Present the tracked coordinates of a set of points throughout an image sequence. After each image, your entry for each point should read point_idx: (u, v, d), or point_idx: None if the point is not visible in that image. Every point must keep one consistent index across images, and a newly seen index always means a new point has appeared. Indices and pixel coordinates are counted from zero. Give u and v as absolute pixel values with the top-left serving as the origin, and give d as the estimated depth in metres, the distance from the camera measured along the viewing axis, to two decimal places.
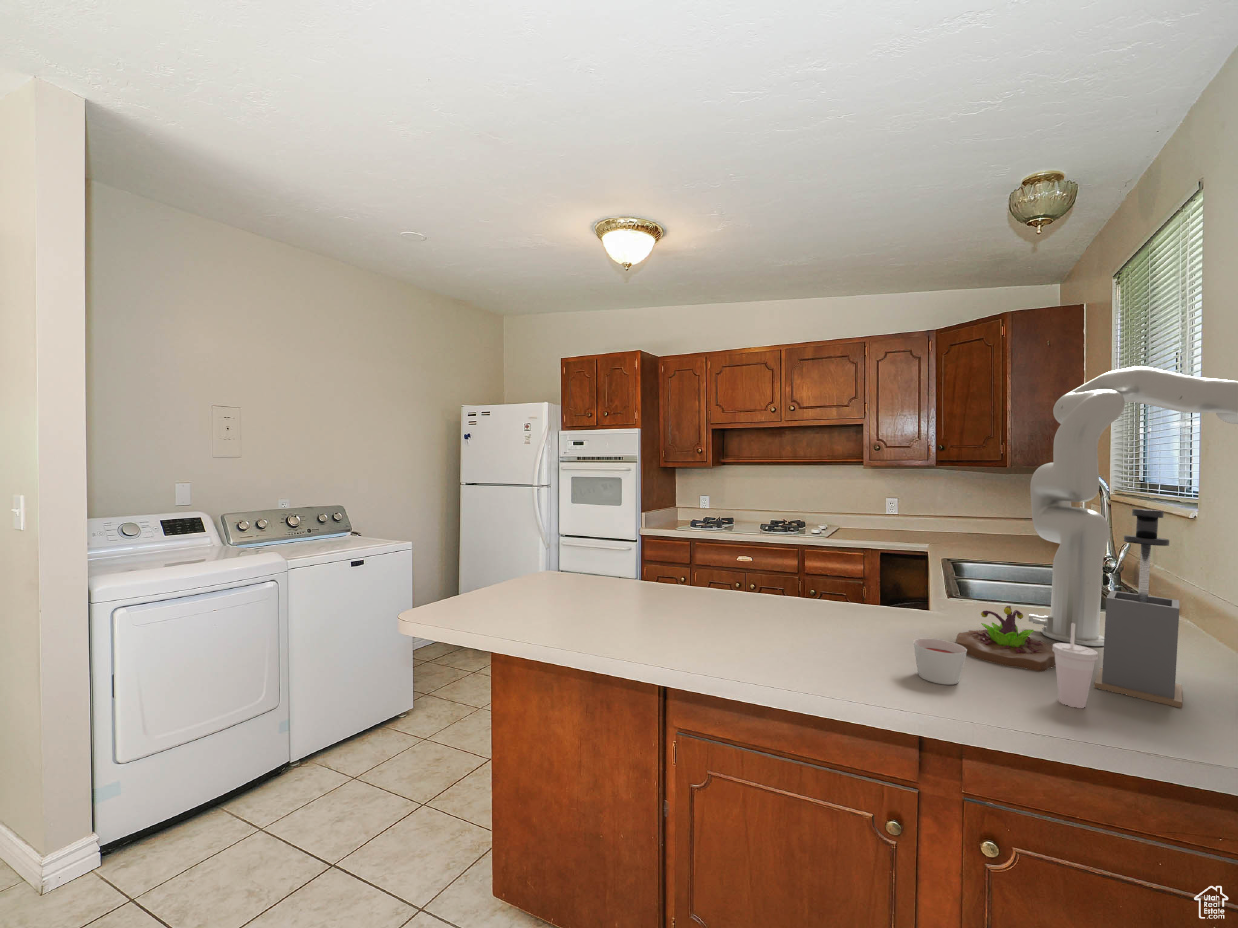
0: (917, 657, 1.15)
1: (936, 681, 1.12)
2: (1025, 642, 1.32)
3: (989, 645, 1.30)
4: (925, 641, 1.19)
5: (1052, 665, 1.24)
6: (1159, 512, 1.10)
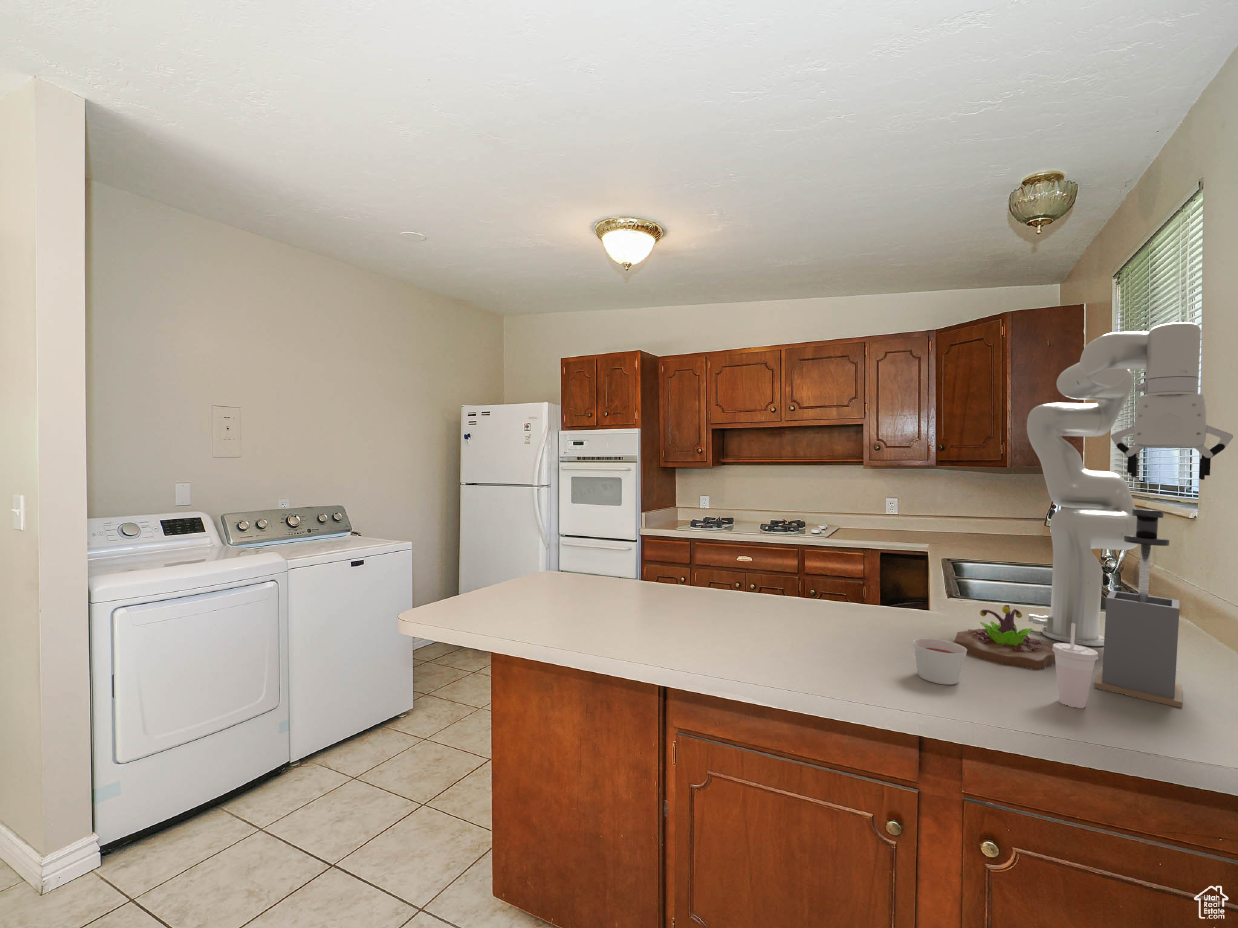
0: (917, 657, 1.15)
1: (936, 681, 1.12)
2: (1024, 641, 1.33)
3: (987, 644, 1.31)
4: (925, 641, 1.19)
5: (1050, 664, 1.24)
6: (1159, 512, 1.10)
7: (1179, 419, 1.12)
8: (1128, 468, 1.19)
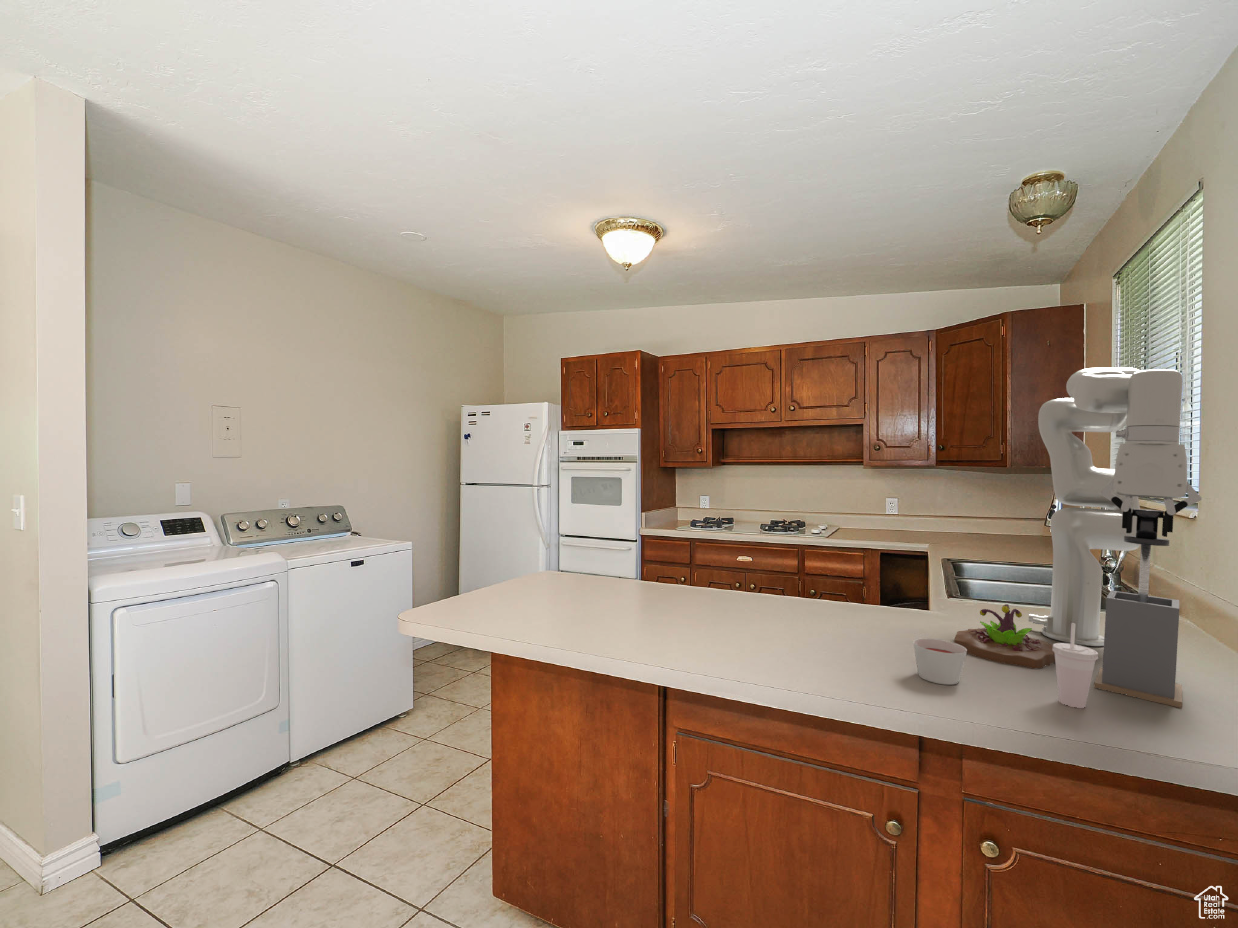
0: (917, 657, 1.15)
1: (936, 681, 1.12)
2: (1023, 640, 1.34)
3: (987, 643, 1.31)
4: (925, 641, 1.19)
5: (1049, 663, 1.25)
6: (1159, 512, 1.10)
7: (1159, 470, 1.09)
8: (1123, 523, 1.14)
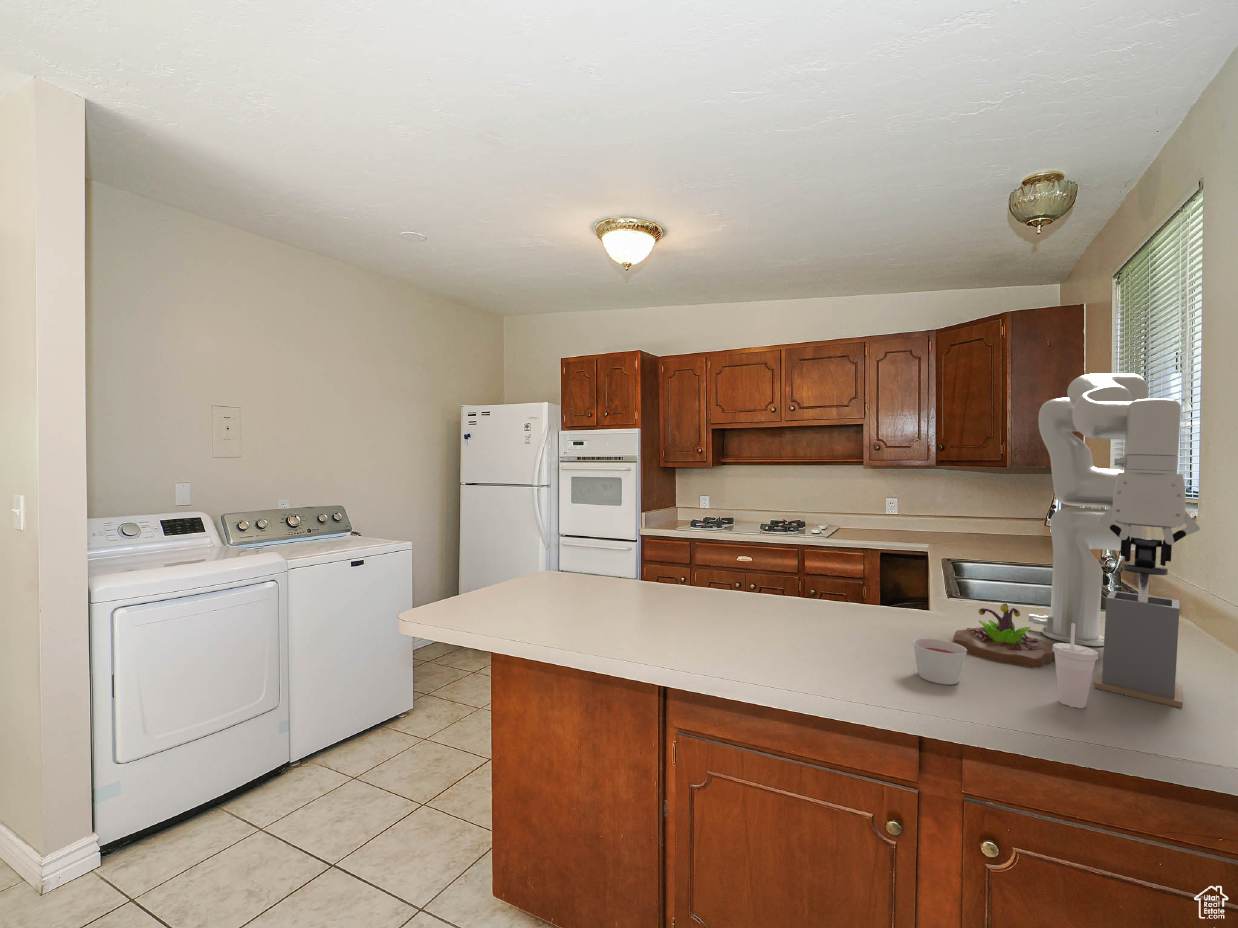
0: (917, 657, 1.15)
1: (936, 681, 1.12)
2: (1022, 639, 1.34)
3: (986, 642, 1.32)
4: (925, 641, 1.19)
5: (1047, 662, 1.26)
6: (1157, 541, 1.11)
7: (1158, 499, 1.10)
8: (1121, 552, 1.14)
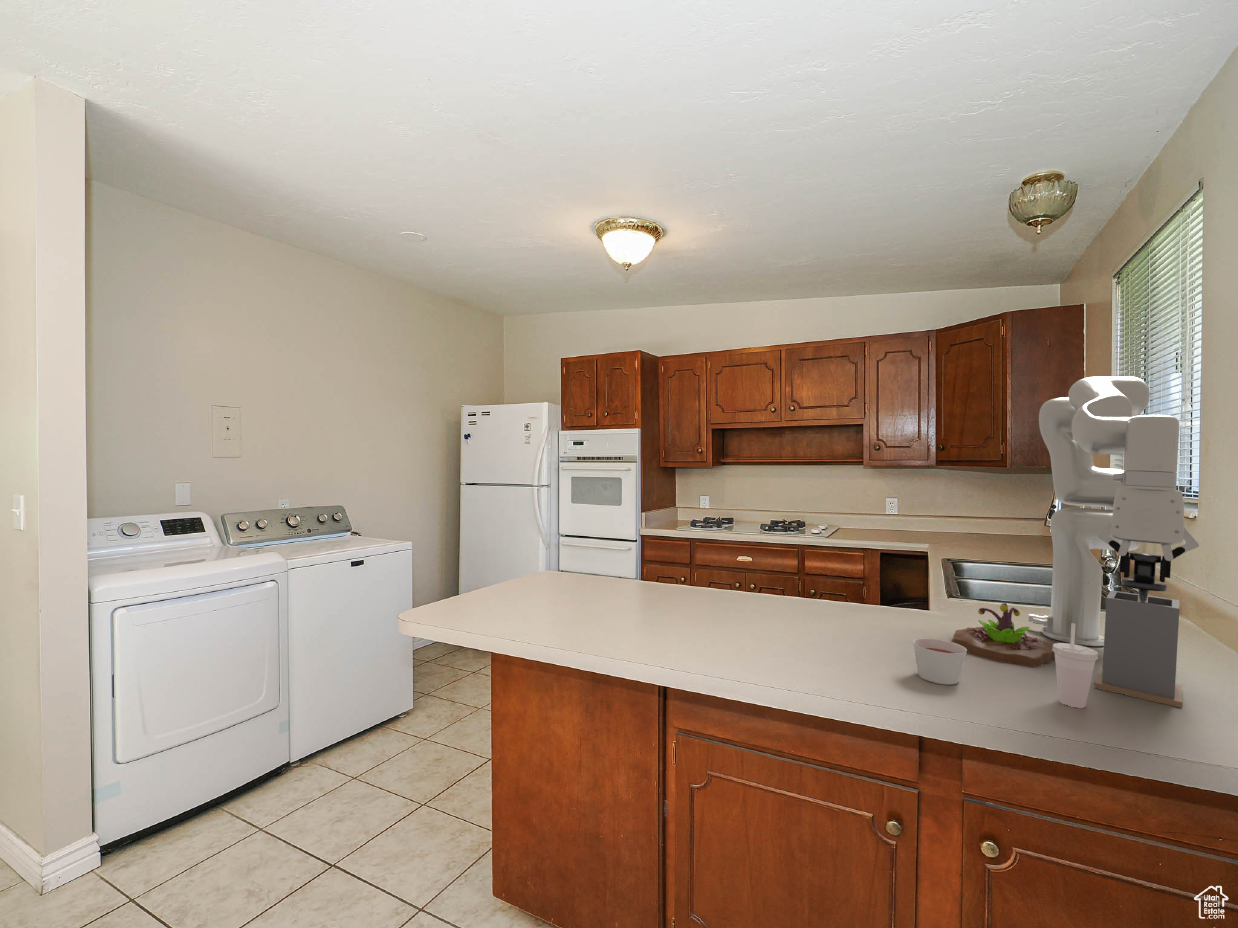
0: (917, 657, 1.15)
1: (936, 681, 1.12)
2: (1021, 639, 1.35)
3: (985, 642, 1.32)
4: (925, 641, 1.19)
5: (1047, 661, 1.26)
6: (1157, 557, 1.11)
7: (1157, 515, 1.10)
8: (1121, 567, 1.14)
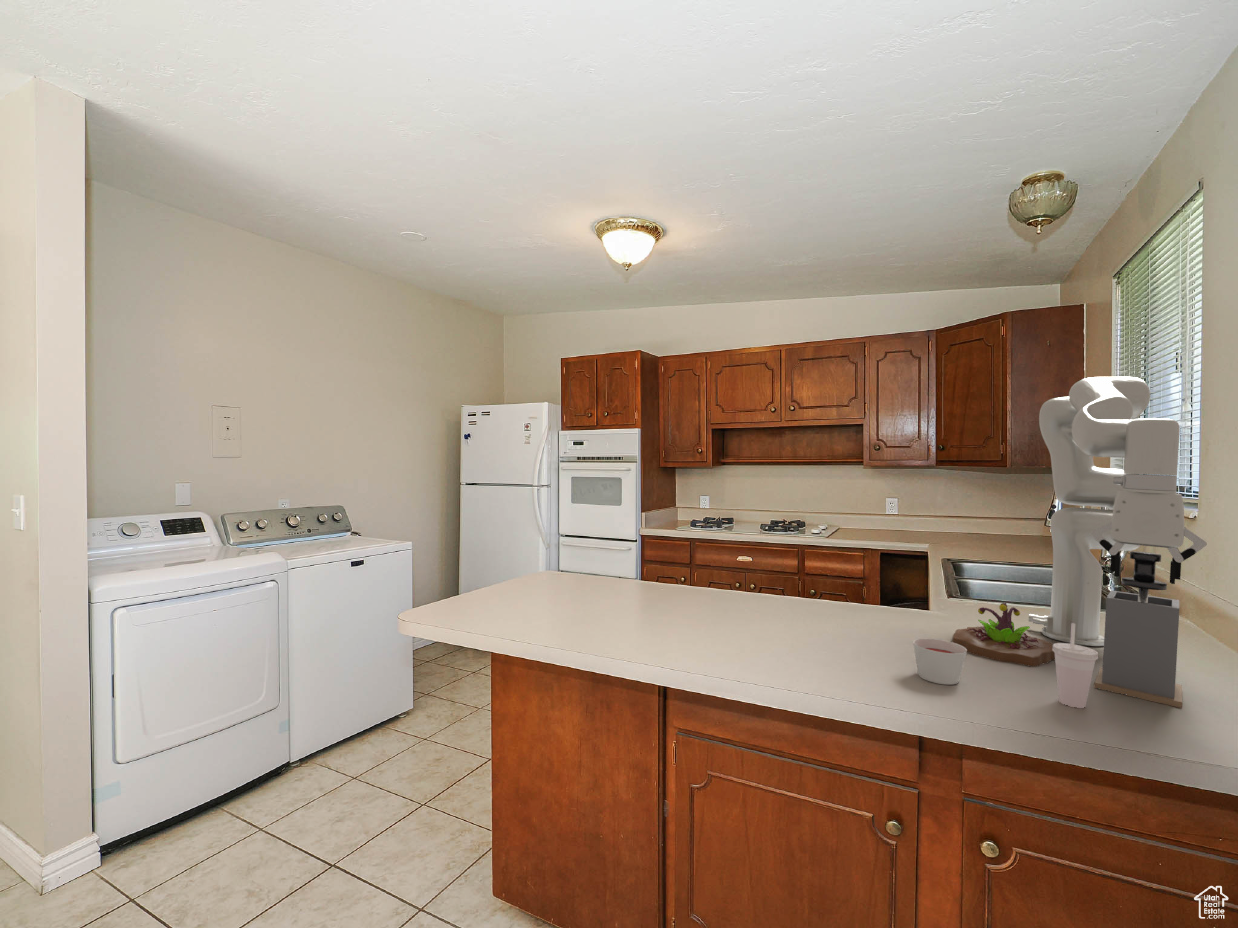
0: (917, 657, 1.15)
1: (936, 681, 1.12)
2: (1021, 638, 1.35)
3: (984, 641, 1.33)
4: (925, 641, 1.19)
5: (1046, 661, 1.26)
6: (1157, 556, 1.11)
7: (1157, 519, 1.10)
8: (1111, 566, 1.15)
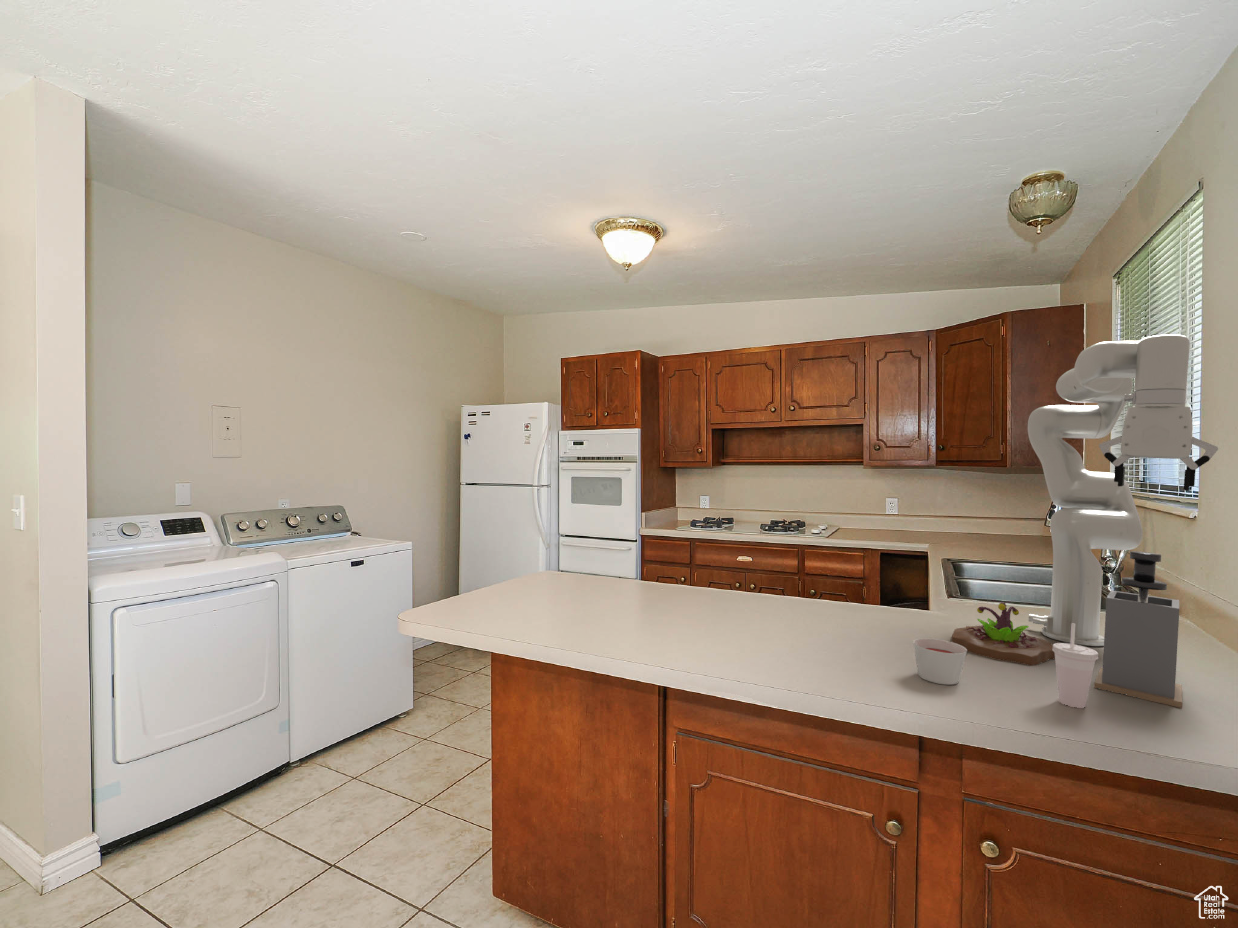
0: (917, 657, 1.15)
1: (936, 681, 1.12)
2: (1020, 638, 1.35)
3: (983, 640, 1.33)
4: (925, 641, 1.19)
5: (1044, 660, 1.27)
6: (1157, 556, 1.11)
7: (1165, 431, 1.14)
8: (1115, 477, 1.21)
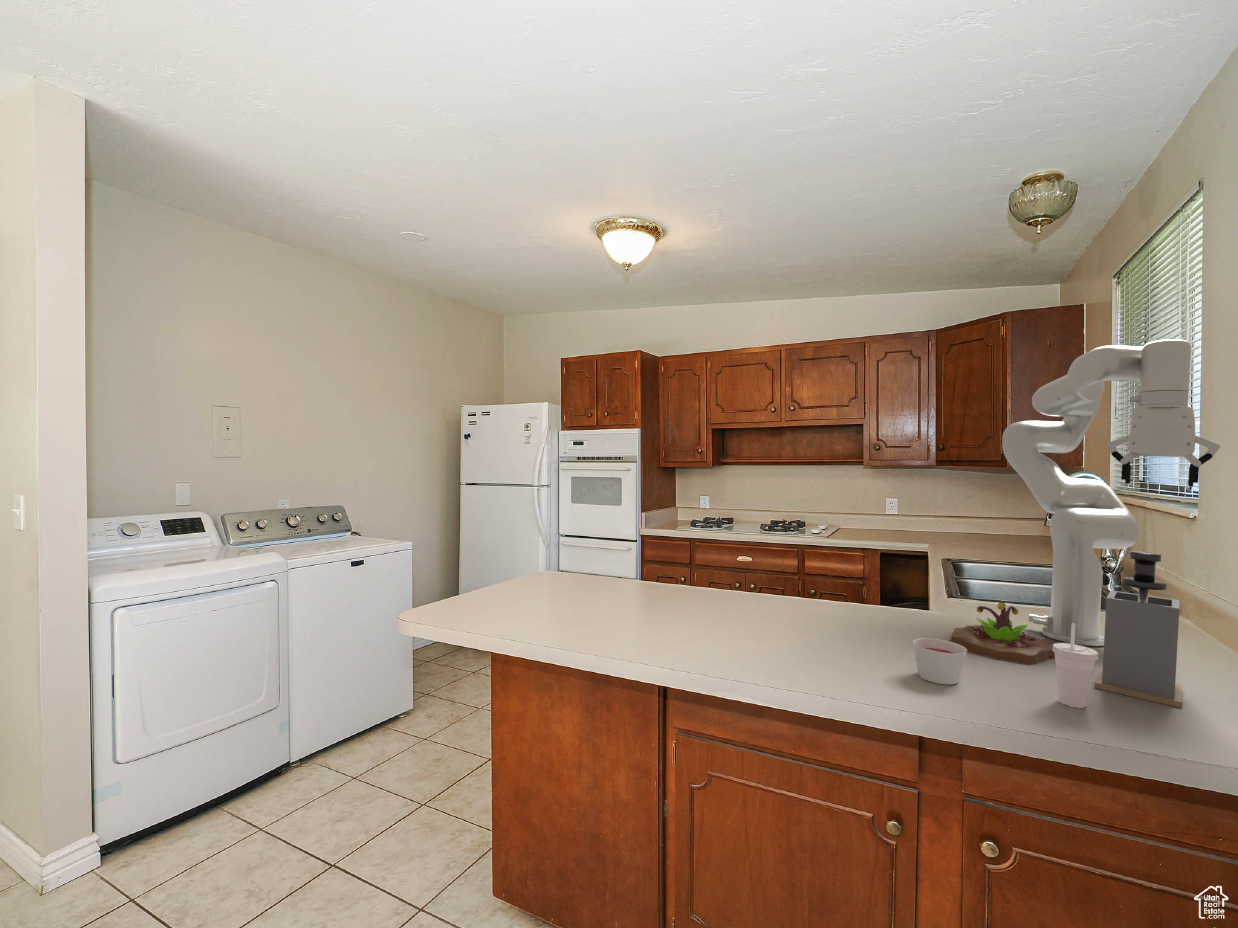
0: (917, 657, 1.15)
1: (936, 681, 1.12)
2: (1019, 637, 1.36)
3: (982, 639, 1.34)
4: (925, 641, 1.19)
5: (1043, 659, 1.27)
6: (1157, 556, 1.11)
7: (1170, 430, 1.20)
8: (1122, 475, 1.27)
